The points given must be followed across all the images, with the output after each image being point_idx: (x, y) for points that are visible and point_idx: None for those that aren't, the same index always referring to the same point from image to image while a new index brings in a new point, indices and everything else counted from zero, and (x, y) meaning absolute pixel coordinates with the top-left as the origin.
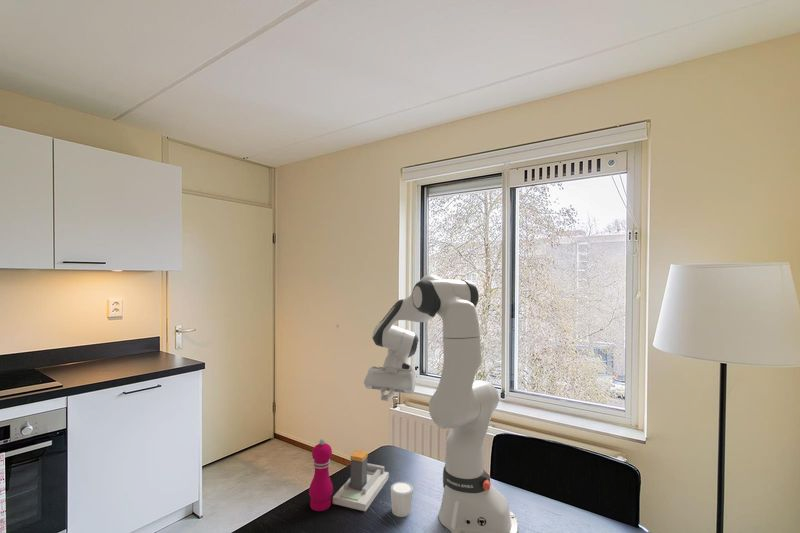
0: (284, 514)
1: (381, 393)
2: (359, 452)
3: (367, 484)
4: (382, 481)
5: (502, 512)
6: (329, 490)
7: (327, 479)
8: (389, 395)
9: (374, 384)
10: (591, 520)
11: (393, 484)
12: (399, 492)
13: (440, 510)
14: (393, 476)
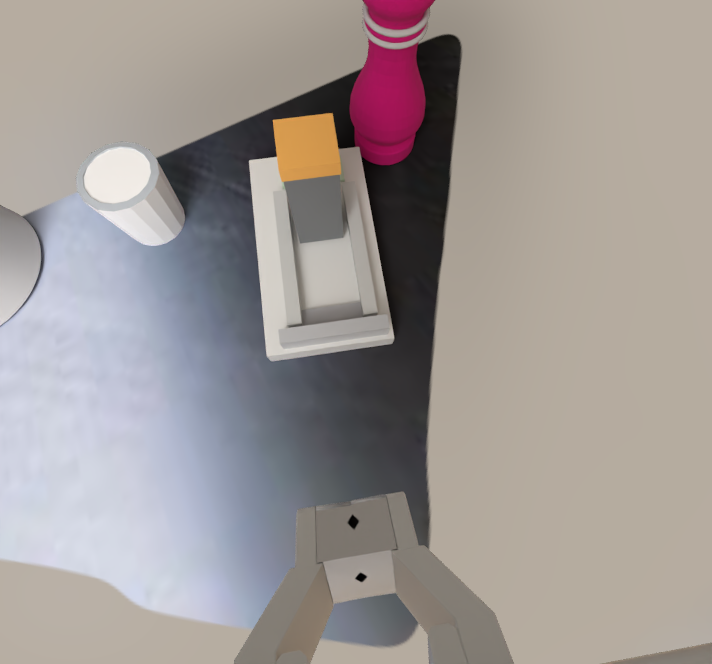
0: (438, 77)
1: (430, 556)
2: (313, 152)
3: (281, 216)
4: (261, 291)
5: None
6: (351, 94)
7: (364, 70)
8: (289, 578)
9: (702, 660)
10: None
11: (153, 178)
12: (114, 146)
13: (17, 232)
14: (260, 383)
